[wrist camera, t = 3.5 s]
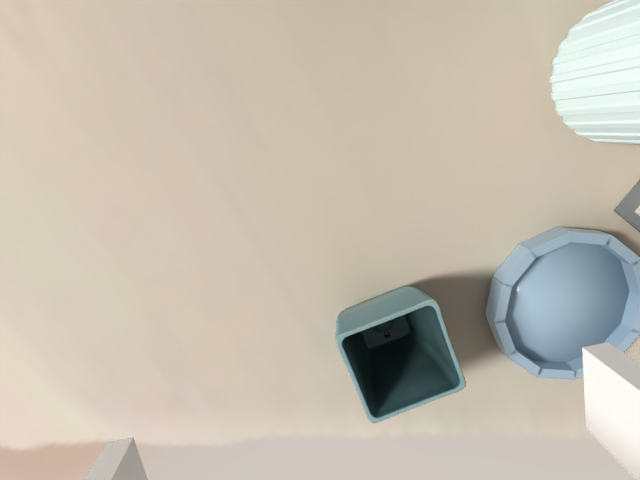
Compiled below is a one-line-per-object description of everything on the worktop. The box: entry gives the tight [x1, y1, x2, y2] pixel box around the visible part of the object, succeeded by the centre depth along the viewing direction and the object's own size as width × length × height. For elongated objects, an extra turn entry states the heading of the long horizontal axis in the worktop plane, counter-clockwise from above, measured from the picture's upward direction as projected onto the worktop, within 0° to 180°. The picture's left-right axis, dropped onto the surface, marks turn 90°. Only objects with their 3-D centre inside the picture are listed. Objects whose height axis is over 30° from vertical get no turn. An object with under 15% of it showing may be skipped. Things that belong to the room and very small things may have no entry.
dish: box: [485, 227, 640, 380], centre depth 45 cm, size 15×15×2 cm
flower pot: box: [336, 286, 466, 423], centre depth 41 cm, size 9×9×9 cm
